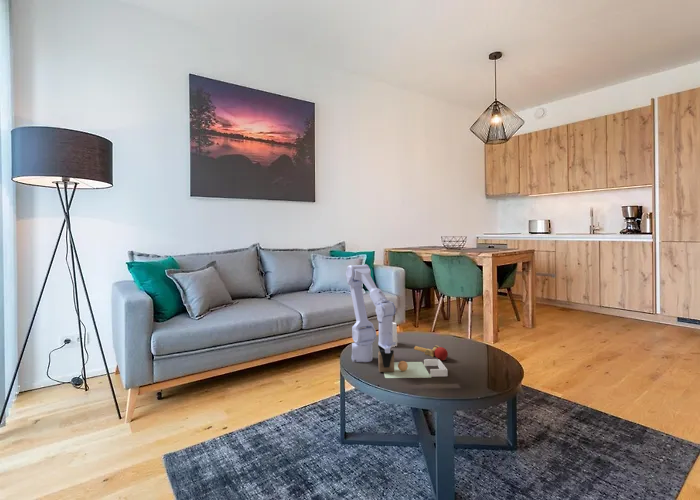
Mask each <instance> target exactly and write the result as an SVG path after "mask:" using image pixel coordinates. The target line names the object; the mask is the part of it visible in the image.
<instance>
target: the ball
mask: <svg viewBox="0 0 700 500" xmlns="http://www.w3.org/2000/svg"><path fill="white" fill-rule="evenodd" d="M398 362H399V363H398V368H399V370H401V371H405V370H407V368H408V364H407V363H406V362H407V361H404V360H400V361H398Z"/></svg>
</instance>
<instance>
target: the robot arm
mask: <svg viewBox="0 0 700 500" xmlns="http://www.w3.org/2000/svg"><path fill="white" fill-rule="evenodd" d="M371 271H372V270H371V269H370V266H369V265H368V264H366V263H365V264H356V265H355V264H354V265H351V264H349V265H347V268H346V270H345V277H346V281H347V285H349V289H350V290H349V291H350V295H351V300H352V306H353V311H354V317H355V320H356V321H355V323H354V325H352V326H351V329H352V330H351V338H352V341H353V342H352V343H351V358H350V360H351V361H352V363H357V362H358V363H370V362H372V361H373V344H374V342H375V340H376V338H377V331H376V328H375V326H374V323H373V322H372V321H370V320H369V319H368V314H367V309H366V305H365V299H364V294H363V289H362V286H363V284H364V286H365V288H366V289H367V290H368V292H369V296H368V297H369V298H370V300H371V302H372V304H373V305H374V307H375V310H374V311H375V314H376V318H377V319H376V320H377V321H378V342H377V345H378V346H377V347H378V349H379V350H378V351H380V353H381V356H382V360H383V365H384V368H389V366H390V361H391V357H392V355H393V353H394V354H395V351H394V349H393V350H392V348H393V347H392V346H393V345H396V343H395V342H393V319H394V318H393V316H395V314H396V311H397V308H396V305H395V303H394V302H393V301H390V299H388V298H387V297H386V295H385V294H384V292H383V291H382V289H381V288H378V287H377V285H376V283H375V282H374V279H373V278H372V276H371V274H372V273H371Z"/></svg>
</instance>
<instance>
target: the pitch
mask: <svg viewBox="0 0 700 500" xmlns="http://www.w3.org/2000/svg"><path fill="white" fill-rule="evenodd" d="M399 362H400V361H394V372H383V375H384V378H385V379H407V378H408V379H411V378H412V379H417V378H418V379H421V378H422V379H423V378H427V379H428V378H432V377H448V376H449V375H448V368H447V367H446V366H445V364H443V361H440V360H439V359H438V358H432V359H430V358H429V359H428V358H426V359H423V361H405V362H406V363H407V364H408V368H407V370H405V371H401V370H399V368H398V363H399ZM427 367H438V368H430V369H429V371H430V372H429V371H428V369H427Z"/></svg>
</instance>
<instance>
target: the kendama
mask: <svg viewBox="0 0 700 500" xmlns="http://www.w3.org/2000/svg"><path fill="white" fill-rule="evenodd" d="M413 350H415V351H419V352H422V353H424V355H426V356H431V357H432V358H434V357H435V359H439V360H440V361H441V362H443V361H446V360H447V358H448V356H449V354H448V353H449V352H448V350H447V349H446V348H445V347H442V346H439V345H434V346H433V347H432V349H431V348H425V347H421V346H417V345H415V346H414V349H413Z"/></svg>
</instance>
